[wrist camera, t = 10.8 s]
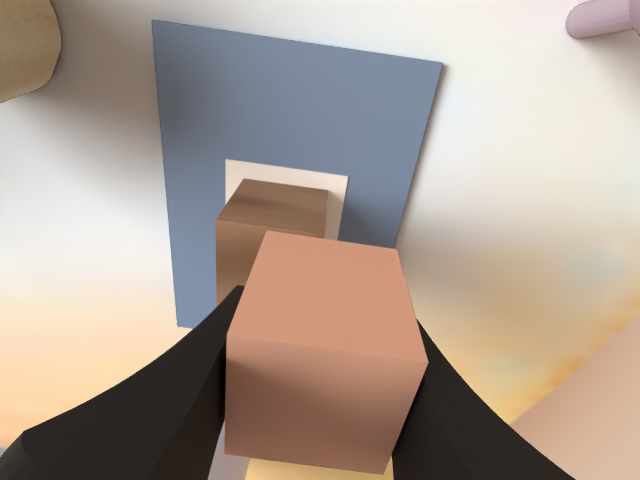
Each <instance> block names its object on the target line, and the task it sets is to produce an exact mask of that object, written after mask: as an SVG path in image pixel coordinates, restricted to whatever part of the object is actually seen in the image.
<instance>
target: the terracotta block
mask: <svg viewBox="0 0 640 480" xmlns="http://www.w3.org/2000/svg"><path fill="white" fill-rule="evenodd" d="M427 365H428V359H427V356H426V352H425V348H424V345H423V341H422V338H421V334H420V330H419V327H418V323H417V320H416V316H415V312H414V309H413V305H412V302H411V298H410V294H409V291H408V287H407V284H406V280H405V276H404V273H403V269H402V266H401V262H400V258H399V255H398V251H397V249H391V248H384V247H377V246H371V245H364V244H357V243H350V242H343V241H336V240H329V239H322V238H315V237H309V236H302V235H295V234H288V233H281V232H274V231H267V230H266V233H265V236H264V238H263V241H262V244H261V246H260V249H259V251H258V254H257V257H256V259H255V262H254V265H253V267H252V270H251V272H250V275H249V278H248V280H247V283H246V286H245V288H244V291H243V293H242V296H241V299H240V301H239V304H238V307H237V309H236V312H235V314H234V317H233V320H232V322H231V325H230V328H229V330H228V333H227V345H226V394H225V442H224V454H226V455H233V456H241V457H249V458H257V459H265V460H272V461H280V462H288V463H296V464H304V465H312V466H319V467H327V468H335V469H343V470H351V471H358V472H366V473H374V474H382V475H383V474H384V472H385V469H386V467H387V464H388V462H389V459H390V457H391V454H392V452H393V449H394V447H395V444H396V442H397V439H398V437H399V434H400V432H401V429H402V427H403V424H404V422H405V419H406V417H407V414H408V412H409V410H410V407H411V405H412V402H413V400H414V397H415V395H416V392H417V390H418V387H419V385H420V382H421V380H422V377H423V375H424V372H425V370H426V367H427Z"/></svg>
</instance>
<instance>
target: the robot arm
mask: <svg viewBox="0 0 640 480" xmlns="http://www.w3.org/2000/svg"><path fill="white" fill-rule="evenodd" d="M244 288H245V286H242V285H237V286H235V287H234V288H233V289H232V290H231V292H230V293H229V294H228V295H227V296H226V297H225V298H224V299H223V300H222V302H221V303H220V304H219V305H218V306H217V307H216V308H215V309H214V310H213V311H212V312H211V313H210V314H209V315H208V316H207V317H206V318H205V319H204V320H202V321H201V322H200V323H199V324H198V325H197V326H196V327H195V328H194V329H193V330H192V331H190V332H189V333H188V334H187V335H186V336H185V337H183V338H182V339H181V340H180V341H179V342H178V343H176V344H175V345H174V346H173V347H171V348H170V349H169V350H167V351H166V352H165V353H164V354H162V355H161V356H159V357H158V358H157V359H155V360H154V361H153V362H151V363H150V364H148V365H147V366H145V367H144V368H142V369H141V370H139V371H138V372H136V373H135V374H133V375H132V376H130V377H129V378H127V379H125V380H124V381H122V382H120V383H119V384H117V385H115V386H114V387H112V388H110V389H108V390H106V391H105V392H103V393H101V394H99V395H98V396H96V397H94V398H92V399H90V400H88V401H87V402H85V403H83V404H81V405H79V406H77V407H75V408H73V409H71V410H69V411H67V412H64V413H62V414H60V415H58V416H56V417H54V418H52V419H49V420H47V421H45V422H43V423H41V424H39V425H36V426H34V427H32V428H30V429H27V430H25V431H23V433H22V434H21V435H20V436H19V437H18V438H17V439H16V440H15V441H14V442H13V443H12V444H11V445H10V446H9V447H8V449H7V450H6V451H5V452H4V453H3V455H2V456H1V457H0V480H245V478H246V473H247V468H248V464H249V459H250V458H249V457H241V456H233V455H226V454H224V442H225V394H226V345H227V333H228V330H229V328H230V325H231V322H232V320H233V317H234V314H235V312H236V309H237V307H238V304H239V301H240V299H241V296H242V293H243V291H244ZM416 320H417V318H416ZM417 323H418V327H419V330H420V334H421V338H422V341H423V345H424V348H425V352H426V356H427V359H428V365H427V367H426V370H425V372H424V375H423V377H422V380H421V382H420V385H419V387H418V390H417V392H416V395H415V397H414V400H413V402H412V405H411V407H410V410H409V412H408V414H407V417H406V419H405V422H404V424H403V427H402V429H401V432H400V434H399V437H398V439H397V442H396V444H395V447H394V449H393V452H392V462H393V476H394V480H575V479H574V478H573V477H571V476H570V475H568V474H567V473H566V472H564V471H563V470H562V469H561V468H559V467H558V466H557V465H555V464H554V463H553V462H552V461H550V460H549V459H548V458H547V457H545V456H544V455H543V454H541V453H540V452H539V451H538V450H536V449H535V448H534V447H533V446H532V445H531V444H529V443H528V442H527V441H526V440H524V439H523V438H522V437H521V436H520V435H519V434H518V433H516V432H515V431H514V430H513V429H512V428H511V427H510V426H509V425H508V424H507V423H505V422H504V421H503V420H502V419H501V418H500V417H499V416H498V415H497V414H496V413H495V412H494V411H493V410H492V409H491V408H490V407H489V406H488V405H487V404H486V403H485V402H484V401H483V400H482V399H481V398H480V397H479V396H478V395H477V394H476V393H475V392H474V391H473V390H472V389H471V388H470V387H469V385H468V384H467V383H466V382H465V381H464V380H463V379H462V377H461V376H460V375H459V374H458V373H457V372H456V370H455V369H454V368H453V367H452V366H451V364H450V363H449V362H448V361H447V359H446V358H445V357H444V356H443V354H442V353H441V352H440V350H439V349H438V348H437V346H436V345H435V344H434V342H433V341H432V340H431V338H430V337H429V335H428V334H427V333H426V331H425V330H424V328H423V327H422V325H421V324H420V323H419V321H418V320H417Z"/></svg>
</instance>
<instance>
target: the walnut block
mask: <svg viewBox="0 0 640 480" xmlns="http://www.w3.org/2000/svg"><path fill="white" fill-rule="evenodd" d="M327 197H328V190H324V189H317V188H310V187H302V186H295V185H288V184H281V183H274V182H267V181H259V180H252V179H245V178H244V179H243V180H242V182H241V183H240V184H239V186H238V187H237V189H236V190H235V192H234V193H233V195H232V196H231V198H230V199H229V201H228V202H227V203H226V205H225V206H224V208H223V209H222V211H221V212H220V214H219V215H218V217H217V218H216V220H215V225H216V296H217V305H219V304H220V303H221V302H222V300H223V299H224V298H225V297H226V296H227V295H228V294H229V293H230V292H231V290H232V289H233V288H234V287H235V286H237V285H242V286H246V283H247V280H248V278H249V275H250V272H251V270H252V267H253V265H254V262H255V259H256V257H257V254H258V251H259V249H260V246H261V244H262V241H263V238H264V236H265V233H266V230H267V231H274V232H281V233H288V234H295V235H302V236H309V237H315V238H322V239H324V234H325V222H326V209H327Z"/></svg>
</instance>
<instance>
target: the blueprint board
mask: <svg viewBox="0 0 640 480" xmlns="http://www.w3.org/2000/svg"><path fill="white" fill-rule="evenodd" d="M152 31H153V43H154V55H155V67H156V79H157V91H158V102H159V114H160V126H161V138H162V150H163V162H164V174H165V186H166V198H167V209H168V221H169V233H170V245H171V257H172V269H173V281H174V293H175V305H176V316H177V326H178V327H186V328H195V327H196V326H197V325H198V324H199V323H200V322H201V321H202V320H204V319H205V318H206V317H207V316H208V315H209V314H210V313H211V312H212V311H213V310H214V309H215V308H216V307H217V306H218V305H217V296H216V225H215V220H216V218H217V217H218V215H219V214H220V212H221V211H222V209H223V208H224V206H225V205H226V203H227V202H228V201H229V199H230V198H231V196H232V195H233V193H234V192H235V190H236V189H237V187H238V186H239V184H240V183H241V182H242V180H243V179H244V178H245V179H252V180H259V181H267V182H274V183H281V184H288V185H295V186H302V187H310V188H317V189H324V190H328V197H327V209H326V222H325V234H324V239H329V240H336V241H343V242H350V243H357V244H364V245H371V246H377V247H384V248H391V249H393V248H394V245H395V241H396V237H397V233H398V230H399V226H400V222H401V218H402V215H403V211H404V207H405V203H406V200H407V196H408V192H409V188H410V185H411V181H412V177H413V173H414V170H415V166H416V162H417V158H418V155H419V151H420V147H421V143H422V140H423V136H424V132H425V128H426V125H427V121H428V117H429V113H430V110H431V106H432V102H433V98H434V95H435V91H436V87H437V83H438V80H439V76H440V72H441V68H442V65H443V63H441V62H434V61H428V60H421V59H414V58H407V57H401V56H394V55H387V54H380V53H374V52H367V51H360V50H353V49H347V48H340V47H333V46H326V45H320V44H313V43H306V42H300V41H293V40H286V39H279V38H273V37H266V36H259V35H252V34H246V33H239V32H232V31H225V30H219V29H212V28H205V27H198V26H192V25H185V24H178V23H171V22H165V21H158V20H152Z"/></svg>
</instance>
